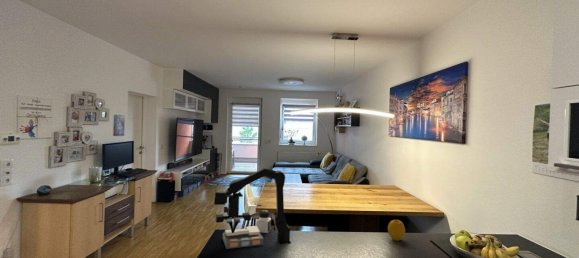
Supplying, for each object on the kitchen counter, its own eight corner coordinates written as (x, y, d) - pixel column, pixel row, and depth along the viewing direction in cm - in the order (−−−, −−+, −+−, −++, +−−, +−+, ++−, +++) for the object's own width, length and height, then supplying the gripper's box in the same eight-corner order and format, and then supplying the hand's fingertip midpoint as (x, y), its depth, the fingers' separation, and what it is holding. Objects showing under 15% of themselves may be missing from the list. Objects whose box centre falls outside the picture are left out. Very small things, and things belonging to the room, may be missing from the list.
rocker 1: (235, 233, 174) (235, 229, 174) (238, 236, 166) (238, 231, 166) (225, 234, 171) (225, 230, 172) (227, 237, 164) (227, 232, 164)
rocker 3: (256, 229, 178) (256, 225, 178) (259, 235, 170) (259, 231, 170) (246, 230, 176) (246, 226, 176) (249, 236, 168) (249, 232, 168)
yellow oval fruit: (390, 235, 186) (391, 216, 186) (406, 239, 181) (407, 219, 180) (385, 239, 178) (385, 220, 178) (402, 244, 173) (402, 223, 173)
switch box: (257, 235, 180) (257, 229, 180) (263, 244, 166) (263, 238, 166) (222, 239, 173) (222, 232, 173) (226, 249, 160) (226, 242, 159)
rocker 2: (246, 233, 175) (246, 228, 176) (249, 234, 168) (249, 230, 168) (235, 234, 173) (235, 229, 174) (238, 236, 166) (238, 231, 166)
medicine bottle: (267, 233, 184) (268, 213, 184) (256, 232, 186) (257, 212, 185) (271, 229, 191) (271, 210, 191) (260, 228, 193) (260, 209, 192)
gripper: (247, 200, 177) (246, 227, 177) (214, 201, 170) (213, 229, 170) (251, 205, 166) (250, 233, 166) (216, 207, 160) (215, 236, 160)
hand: (232, 233), depth 166 cm, fingers closed, pressing on rocker 1
